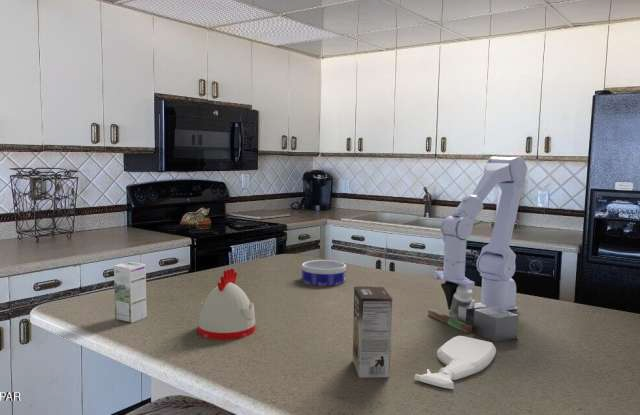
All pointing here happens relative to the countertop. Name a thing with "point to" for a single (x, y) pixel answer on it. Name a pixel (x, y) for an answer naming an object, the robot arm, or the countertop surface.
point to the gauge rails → (450, 321)
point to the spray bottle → (459, 360)
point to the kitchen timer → (226, 311)
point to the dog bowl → (323, 272)
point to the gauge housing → (495, 324)
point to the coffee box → (372, 331)
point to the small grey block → (469, 312)
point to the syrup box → (130, 291)
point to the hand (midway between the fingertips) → (452, 309)
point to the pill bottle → (459, 300)
